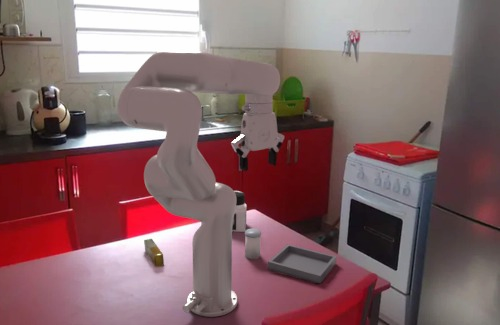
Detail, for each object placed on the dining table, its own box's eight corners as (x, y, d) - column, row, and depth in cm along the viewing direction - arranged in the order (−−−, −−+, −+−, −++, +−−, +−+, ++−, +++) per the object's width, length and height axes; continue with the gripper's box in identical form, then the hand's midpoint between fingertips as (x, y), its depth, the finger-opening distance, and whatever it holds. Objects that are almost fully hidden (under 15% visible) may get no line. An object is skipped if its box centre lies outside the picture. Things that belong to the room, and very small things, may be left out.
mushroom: (255, 261, 135) (256, 236, 133) (241, 257, 138) (241, 232, 136) (263, 254, 140) (264, 230, 138) (249, 250, 142) (249, 227, 140)
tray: (319, 284, 123) (320, 276, 122) (267, 269, 130) (268, 261, 130) (336, 264, 134) (336, 256, 134) (287, 251, 142) (287, 244, 141)
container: (245, 232, 156) (246, 196, 153) (223, 231, 156) (223, 196, 153) (246, 223, 163) (246, 189, 160) (225, 223, 164) (225, 189, 160)
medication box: (144, 251, 141) (143, 239, 140) (152, 249, 142) (152, 237, 141) (155, 268, 131) (154, 255, 130) (164, 266, 132) (163, 253, 131)
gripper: (238, 113, 117) (239, 175, 122) (291, 107, 126) (290, 165, 131) (225, 109, 123) (225, 168, 128) (276, 103, 132) (275, 159, 137)
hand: (258, 167), depth 130 cm, fingers open, 9 cm apart
